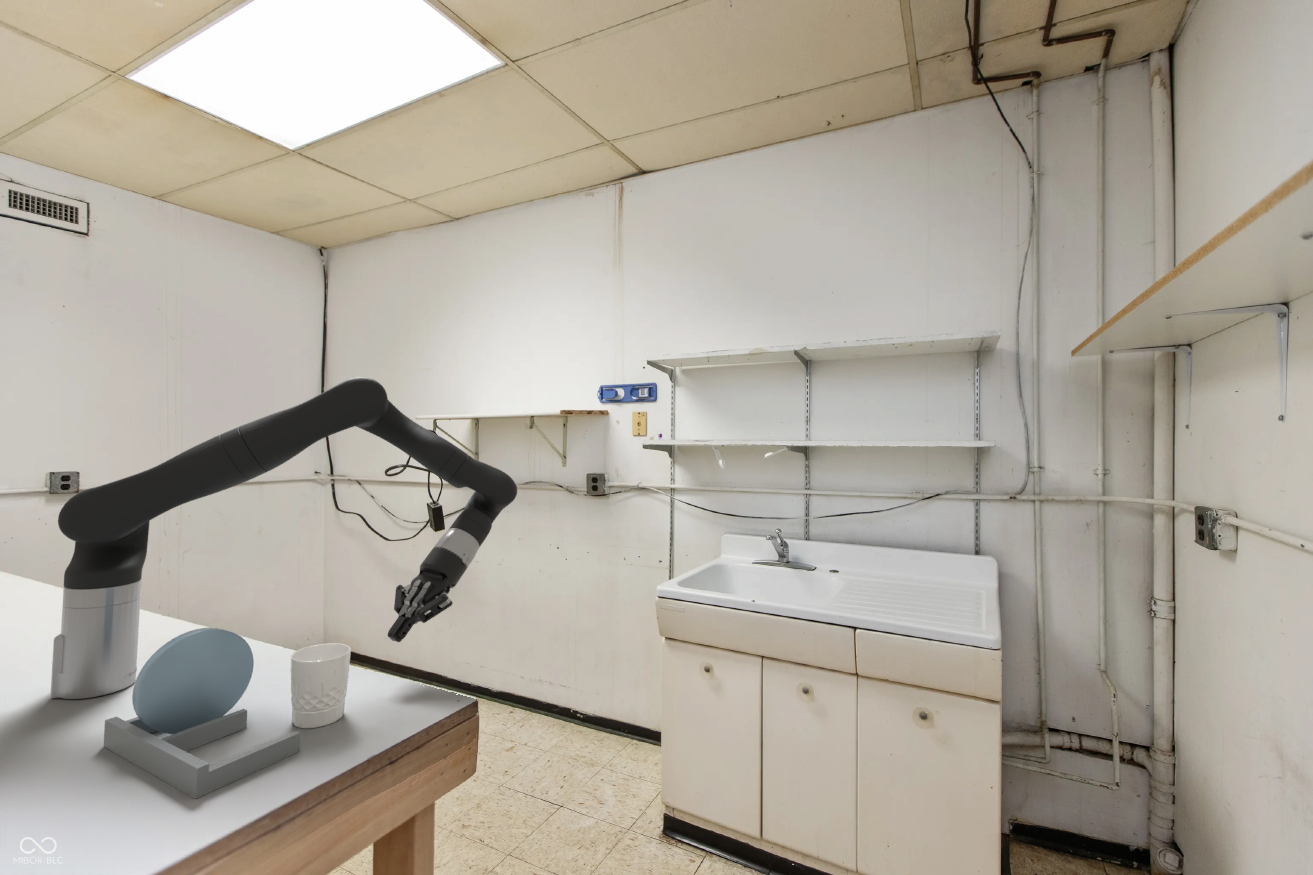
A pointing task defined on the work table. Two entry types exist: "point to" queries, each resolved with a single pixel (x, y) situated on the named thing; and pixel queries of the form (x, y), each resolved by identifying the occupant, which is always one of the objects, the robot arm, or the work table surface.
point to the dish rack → (193, 712)
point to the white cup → (319, 684)
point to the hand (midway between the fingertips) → (393, 639)
